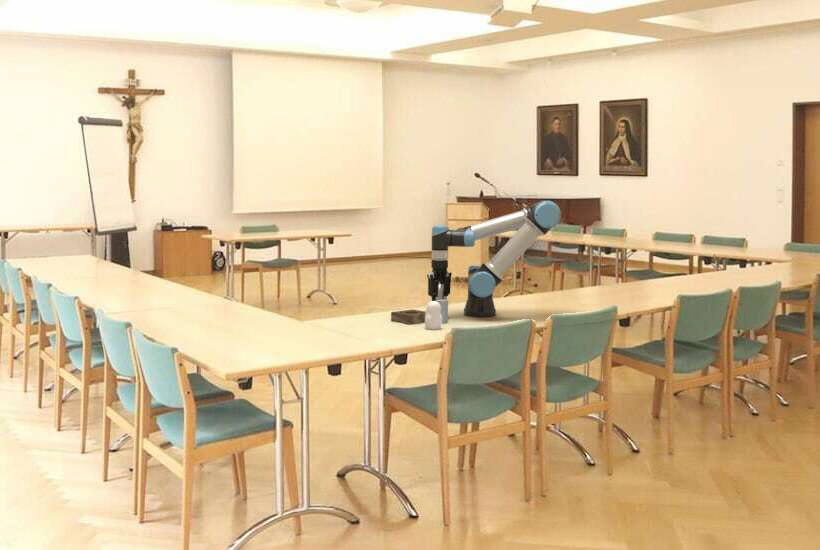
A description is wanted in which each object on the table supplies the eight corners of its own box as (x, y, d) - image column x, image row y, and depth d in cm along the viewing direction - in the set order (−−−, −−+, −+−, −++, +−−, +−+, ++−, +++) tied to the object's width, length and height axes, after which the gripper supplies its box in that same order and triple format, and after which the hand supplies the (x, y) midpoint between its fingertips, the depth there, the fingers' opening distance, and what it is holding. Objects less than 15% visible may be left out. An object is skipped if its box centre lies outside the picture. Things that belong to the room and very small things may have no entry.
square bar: (439, 321, 398) (440, 299, 397) (447, 322, 396) (448, 300, 395) (435, 323, 395) (436, 300, 394) (443, 323, 393) (444, 301, 392)
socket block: (412, 318, 407) (412, 309, 407) (432, 321, 398) (432, 312, 397) (391, 320, 399) (391, 312, 398) (410, 324, 389) (410, 315, 389)
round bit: (438, 317, 410) (439, 282, 408) (445, 318, 407) (446, 283, 405) (432, 318, 407) (432, 283, 405) (438, 319, 404) (439, 284, 402)
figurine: (427, 330, 376) (427, 302, 375) (422, 327, 383) (422, 299, 382) (443, 329, 378) (444, 301, 376) (438, 326, 385) (438, 299, 384)
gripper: (447, 257, 412) (446, 307, 415) (420, 259, 401) (419, 311, 403) (459, 259, 407) (458, 309, 410) (431, 261, 395) (430, 313, 398)
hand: (439, 310), depth 406 cm, fingers closed on round bit, 4 cm apart
